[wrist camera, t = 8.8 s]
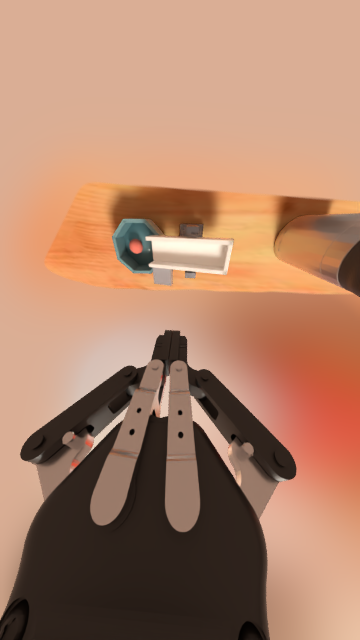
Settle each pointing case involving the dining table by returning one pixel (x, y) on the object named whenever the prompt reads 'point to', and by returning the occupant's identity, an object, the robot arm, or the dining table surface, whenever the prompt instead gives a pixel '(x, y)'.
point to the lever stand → (191, 231)
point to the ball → (136, 246)
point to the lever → (188, 256)
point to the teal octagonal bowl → (138, 231)
